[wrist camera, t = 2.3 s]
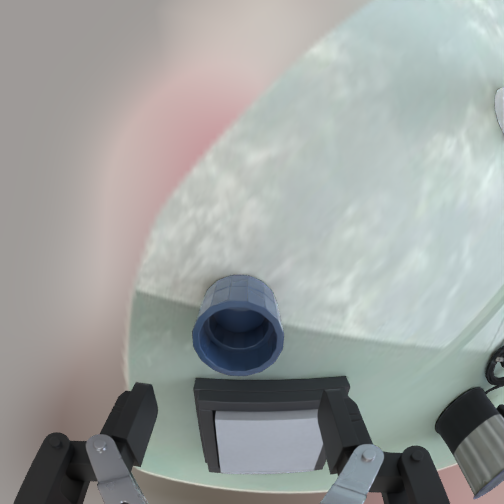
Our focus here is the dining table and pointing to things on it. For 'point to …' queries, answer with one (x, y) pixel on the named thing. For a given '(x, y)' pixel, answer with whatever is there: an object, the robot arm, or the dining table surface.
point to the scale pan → (267, 441)
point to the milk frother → (477, 433)
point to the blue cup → (238, 326)
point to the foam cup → (500, 107)
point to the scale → (256, 403)
